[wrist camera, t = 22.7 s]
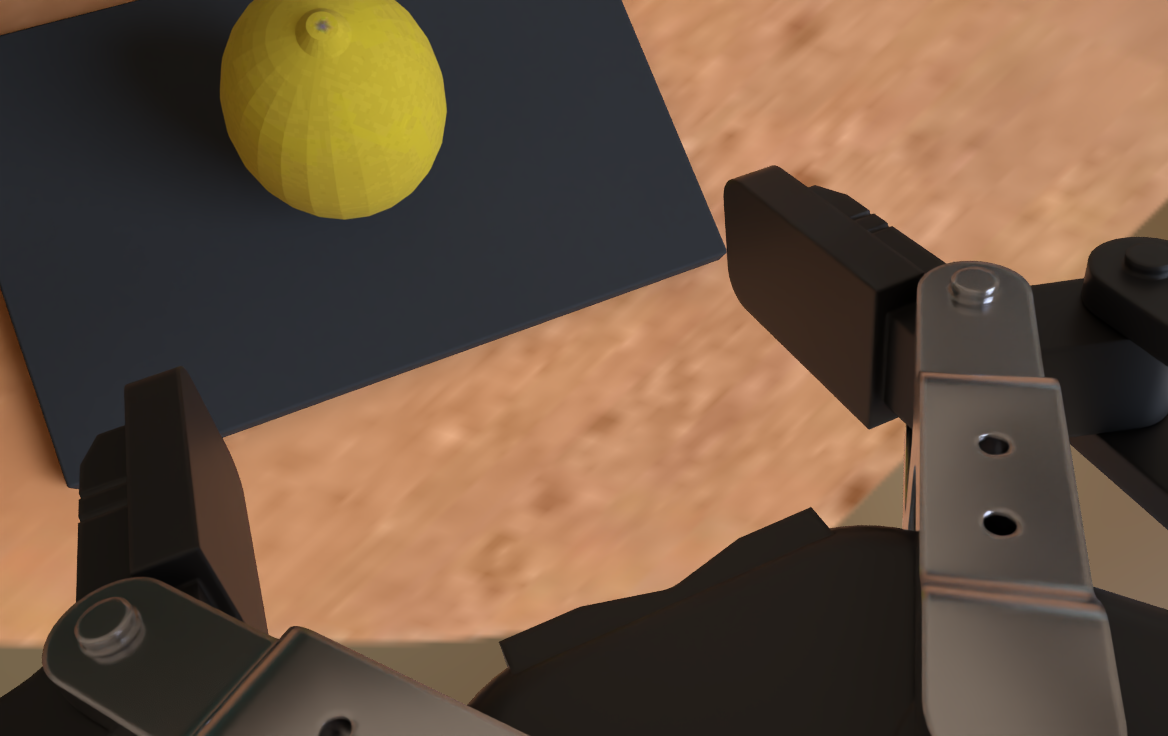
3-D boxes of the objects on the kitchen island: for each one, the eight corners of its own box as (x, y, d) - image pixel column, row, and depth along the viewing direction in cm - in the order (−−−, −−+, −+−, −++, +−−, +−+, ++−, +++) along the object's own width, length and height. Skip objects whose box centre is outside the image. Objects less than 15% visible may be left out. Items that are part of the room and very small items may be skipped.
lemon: (246, 250, 28) (179, 138, 20) (255, 70, 29) (194, -104, 21) (441, 257, 29) (450, 152, 21) (444, 82, 30) (453, -81, 22)
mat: (571, -98, 32) (575, -114, 31) (720, 259, 31) (728, 252, 30) (-66, 67, 28) (-80, 54, 27) (77, 490, 27) (66, 489, 26)
